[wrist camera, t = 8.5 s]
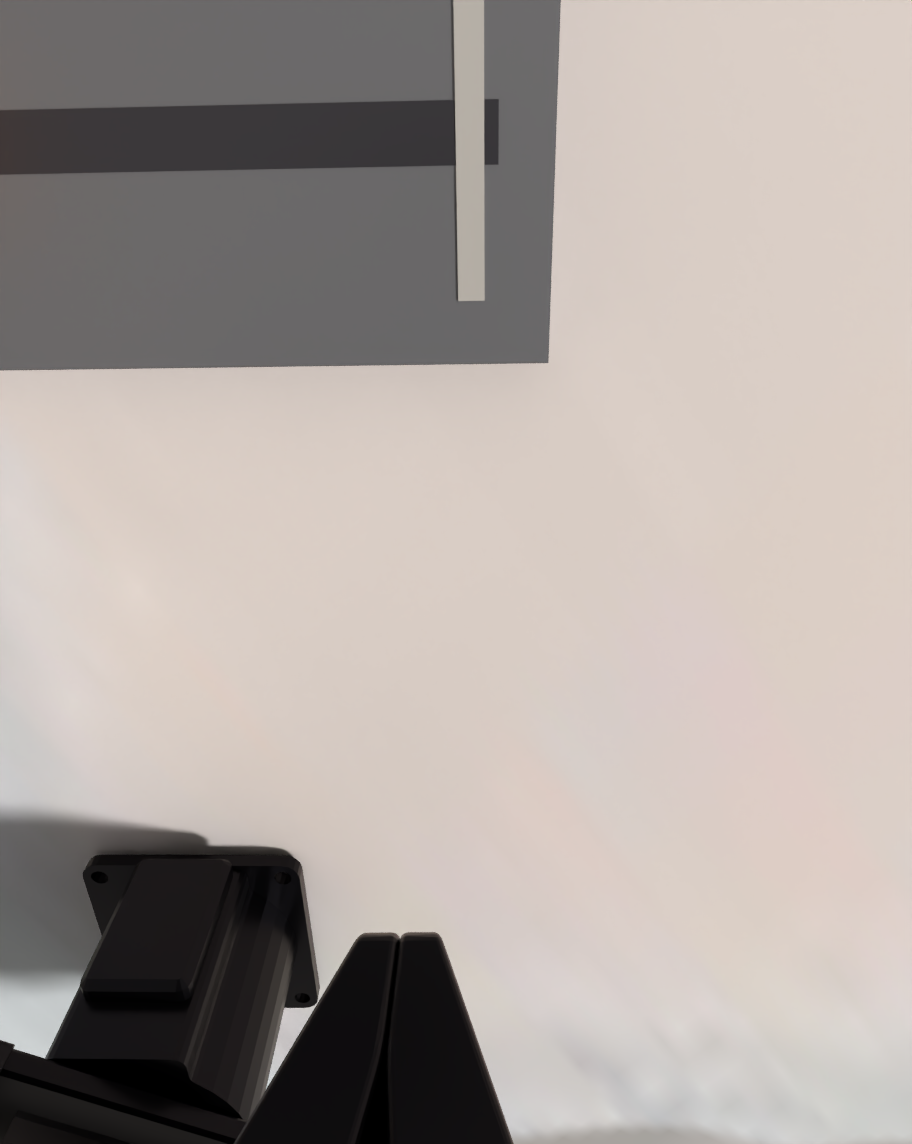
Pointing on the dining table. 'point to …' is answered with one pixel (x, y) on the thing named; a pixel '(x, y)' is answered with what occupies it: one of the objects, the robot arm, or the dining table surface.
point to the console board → (276, 182)
